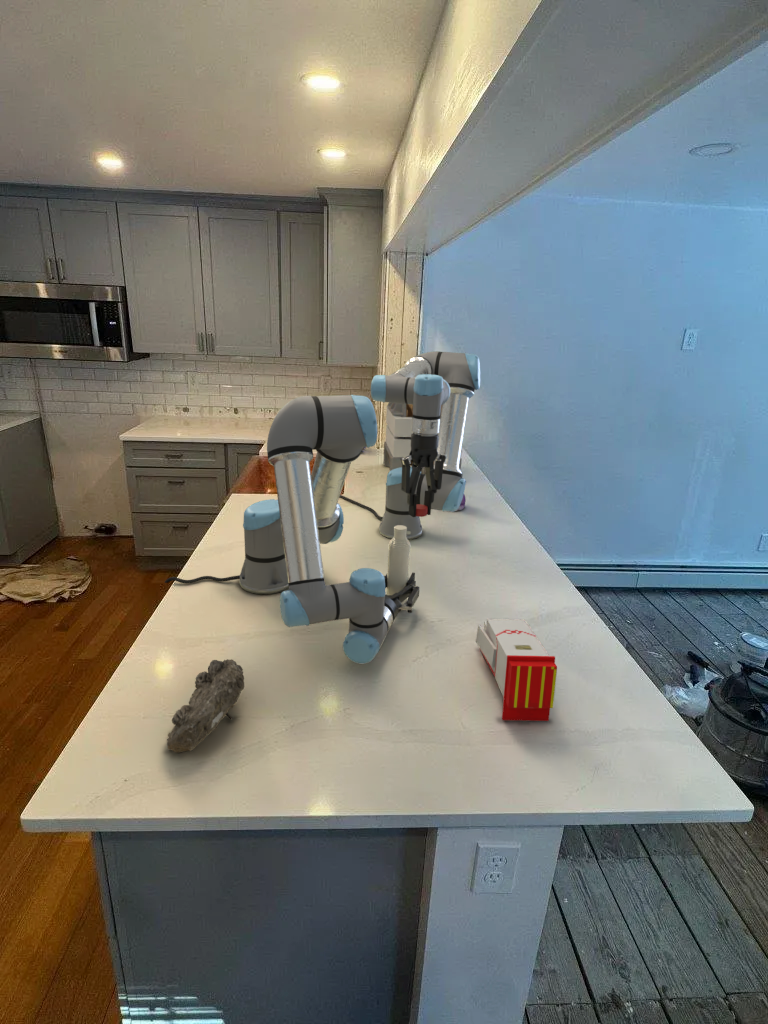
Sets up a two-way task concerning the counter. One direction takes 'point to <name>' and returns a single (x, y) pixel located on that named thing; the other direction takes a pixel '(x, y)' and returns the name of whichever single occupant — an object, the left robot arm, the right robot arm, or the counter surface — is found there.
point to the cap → (421, 510)
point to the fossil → (206, 705)
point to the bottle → (398, 561)
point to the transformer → (399, 434)
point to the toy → (519, 668)
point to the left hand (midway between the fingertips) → (402, 575)
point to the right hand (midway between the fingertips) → (419, 514)
